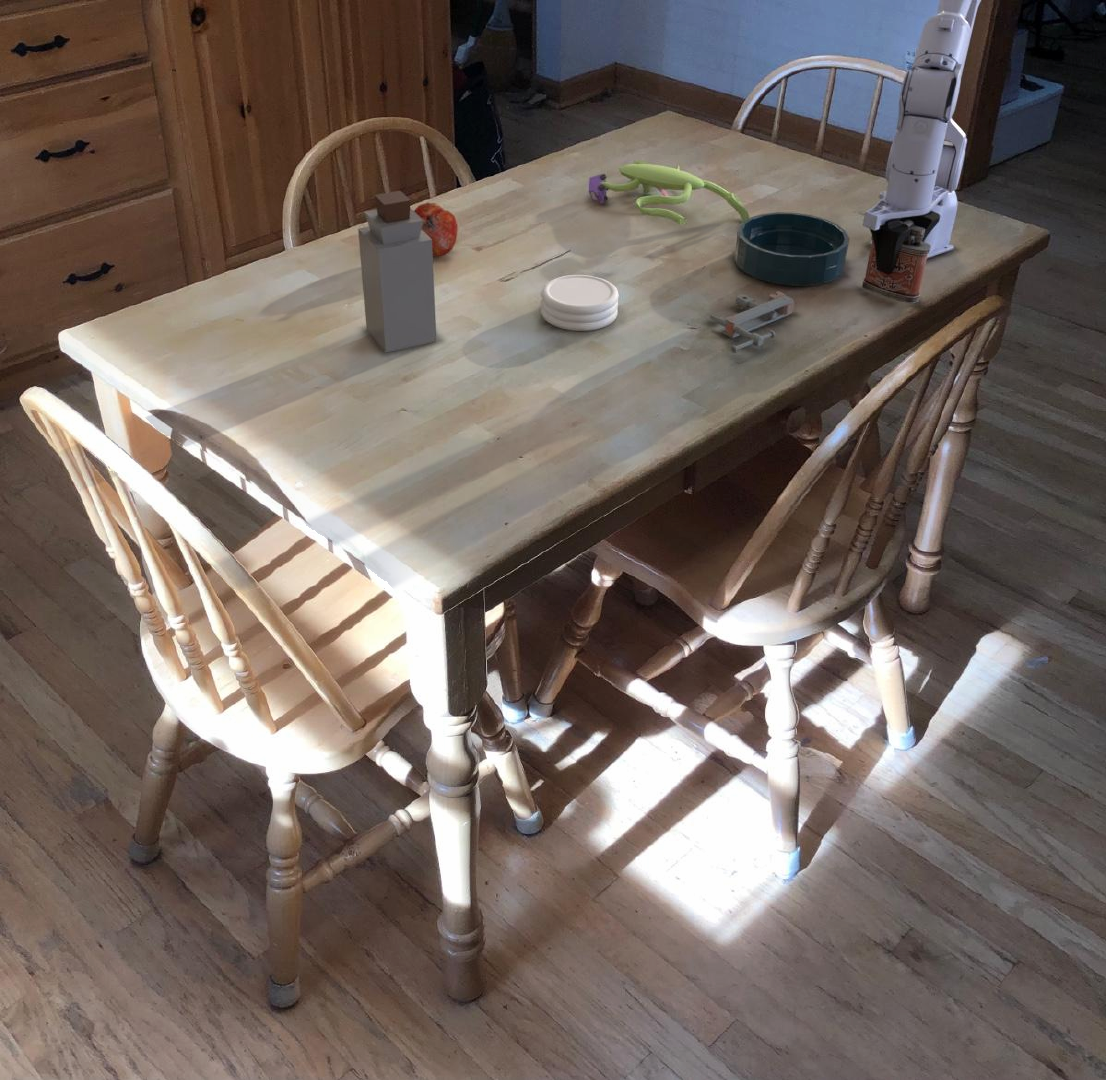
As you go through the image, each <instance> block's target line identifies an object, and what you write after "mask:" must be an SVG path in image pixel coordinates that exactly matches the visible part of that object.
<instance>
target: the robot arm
mask: <svg viewBox="0 0 1106 1080" xmlns="http://www.w3.org/2000/svg"><path fill="white" fill-rule="evenodd" d="M938 2H939V3H938V7H937V13H936V14H934V15H932V16H931V17H929V18H928V19H927V20H925V23H924V24H923V28H922V32H921V34H920V38H919V42H918V45H917V49H916V53H915V55H914V59H913V63H912V68H911V70H910V69H909V70H907V71H906V73H905V75H904V77H903V81H902V85H901V89H900V94H899V99H898V116H897V117H898V118H897V123H896V131H895V132H894V133H895V134H894V138H893V141H892V144H891V147H890V150H889V153H888V158H887V163H886V167H885V173H884V175H885V176H884V178H885V180H886V182H887V187H886V190H884V191H880V192H879V195H878V198H879V199H880V200H879V201H878V202H877V203H876V204H875V205H874V206H873V207H872V208H870V209H868V210H865V211H864V215H863V220H862V221H863V222H862V227H864V228H867V229H869V231H870V234H871V237H873V241H874V245H875V253H876V266H877V270H878V271H881V272H883V273H885V274H887V275H889V274H892V272H893V270H894V268H895V265H896V261H897V258H898V254H899V251H900V249H901V246H902V244H903V242H904V240H905V239H906V237H907V235H908V234H909V233H910V231H911V230H910V229H908V228H906V227H903V226H901V222H905V221H907V220H910V221H912V222H913V223H914V225H915V226H918V227H922V228H924V229H925V233H924V237H923V238H922V242H925V243H927V244H929V245H930V246H931V248H930V253H929V254H928V255H927V259H929V258H932V257H935V256H938V255H941V254H945V253H947V252H949V251H952V250H954V247H955V246H954V245H953V244H950V241H951V238H952V237H951V236H952V233H953V228H954V224H955V221H956V220H955V219H956V216H957V210H958V197H957V193H956V192H955V191H956V190H957V188H958V184H959V182H960V178H961V173H962V170H963V166H964V161H965V156H966V148H967V143H968V138H967V135H966V133H965V132H964V130H963V129H962V128H961V127H960V126H959V125H958V123H956V122H955V120H954V119H953V115H954V113H955V110H956V106H957V102H958V98H959V93H960V89H961V82H962V81H961V80H962V77H963V72H964V67H965V64H966V63H965V62H966V59H967V54H968V51H969V46H970V41H971V37H972V34H973V30H974V29H973V28H974V26H975V21H976V16H977V12H978V8H979V6H980V4H981V2H982V0H939V1H938ZM945 142H947V143H948V142H949V143H952V144H953V145H952V144H951V145H950V144H944V143H945ZM899 221H901V222H900V223H899ZM871 244H872V240H871V241H869V246H870V247H871Z"/></svg>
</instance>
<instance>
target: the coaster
mask: <svg viewBox="0 0 1106 1080" xmlns="http://www.w3.org/2000/svg"><path fill="white" fill-rule="evenodd" d="M540 296H541V297H540V298H541V299H540V305H541V306H540V314H541V316H542V318H543V319H544V320H545V321H546V322H547V323H549V324H550V325H553V327H556V328H558V329H562V330H567V331H573V332H574V331H575V332H589V331H595V330H599V329H604V328H605V327H607V326H609V325H611V324H612V323H613V322H614V321H615V320H616V319H617V316H618V314H619V311H618V307H619V298H620V297H619V296H620V295H619V291H618V289H617V287H616V286H615V285H614V284H613V283H611V282H610V281H608V280H606V279H604V278H601V277H597V276H594V275H587V274H570V275H569V274H568V275H563V276H558V277H556V278H553V279H550V280H549V281H548V282H547V283H546V284H544V286H543V287H542V288H541V292H540Z"/></svg>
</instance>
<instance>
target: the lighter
mask: <svg viewBox="0 0 1106 1080" xmlns="http://www.w3.org/2000/svg"><path fill="white" fill-rule="evenodd" d="M900 222H901V221H899V223H900ZM901 226H903V227H906V228H908V229H910V230H911V231H910V233H909V234H908V235H907V237H906V239H905V240H904V242H903V244H902V246H901V249H900V251H899V254H898V258H897V261H896V265H895V268H894V270H893V272H892V274H889V275H887V274H885V273H883V272H881V271H878V270H877V266H876V253H875V245H874V241H873V237H872V236H870V237H871V238H870V240H871V241H872V244H871V246H870V249H869V255H868V259H867V264H866V265H867V266H866V270H865V276H864V278H863V279H862V285H861V287H862V288H863V289H865V290H867V291H869V292H872V293H874V294H876V295H879V296H881V297H884V298H888V299H891V300H895V301H898V302H904V303H907V304H915V303H918V302H919V301H920V299H921V298H920V297H921V286H922V282H923V278H924V273H925V268H926V263H927V260H928V258H927V255H928V254H929V253H930V248H931V246H930V245H929V244H927V243H925V242H922V238H923V237H924V233H925V229H924V228H922V227H918V226H915V225H914V223H913V222H912V221H910V220H907V221H905V222H901Z"/></svg>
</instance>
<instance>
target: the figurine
mask: <svg viewBox="0 0 1106 1080" xmlns="http://www.w3.org/2000/svg"><path fill="white" fill-rule="evenodd" d="M680 168H681V166H680V165H678V166H677V167H670V166H665V165H658V164H649V163H647V162H645V161H643V160H640V159H636V160H634V162H633V163H630V164H625V165H622V166H620V167H619V168H618V171H619V173H620V174H621V175H622V176H623V177H625V178H627V179H629V180H630V181H629V182H625V183H620V184H619V183H618V184H614V183H613V184H612V183H610V182H607V181H606V179H607V175H606V174H605V173H601V174H598V175H594V176H590V177H589V178H588V190H587V191H588V193H589V195H590V197H591V199H592V200H593V201H595V202H596V201H597V202H598V203H599V204H600V205H601V204H605V202H608V200H609V197H608V195H607V191H613V192H616V193H617V192H620V193H621V192H628V191H635V190H637V189H638V188H639V186H640V185H642V190H643V193H644V196H640V197H639V198H637V199H636V200H635V206H636V208H637V209H638V211H639V212H640V213H641V214H642V215H643V216H649V217H654V218H657V217H658V218H665V219H669V220H671V221H673V222H675V223H677V224H678V225H679V226H684V225H685V224H686V221H687V220H686V218H685V217H684V216H682V215H681V214H679V213H677V212H675V211H673V210H669V209H666V208H655V207H654V208H652V207H651V208H649V207H642V206H645V205H652V204H661V205H662V204H663V205H672V206H673V205H679V204H680V205H681V204H684V203H686V202H687V201H688V200H689V199H690V197H691V194H692V191H695V190H700V189H705V190H707V191H711V192H713V193H715V194H716V195H718V196H719V197H722V199H724V200H725V201H726V202H727V203H728V204H729V205H730V206H731V207H732V208H733V209H734V210H735V211H736V212H737V213H738V214H739V215H740V219H741V220H742V222H744V221H745V220H747V219H748V218H750V215H749V212H748V210H747V209H746V208H745V207H744V206H743V204H742V202H741V200H740V198H739V197H738V196H737V195H736V194H734V193H733V192H730V191H728V190H726V189H725V188H724V187H722V186H720V185H718V184H716V183H714V182H711V181H709V180H704V179H701V178H700V177H698V176H695V175H694V174H691V172H687V171H684V170H681V169H680ZM652 188H655V189H657V190H658V191H659V192H660V193H661V194H662V195H658V194H656V195H647V194H648V193H649V192H650V190H651V189H652ZM666 190H671V191H682V193H681V194H680V195H676V196H670V195H669V194H668V193H667V191H666Z"/></svg>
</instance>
